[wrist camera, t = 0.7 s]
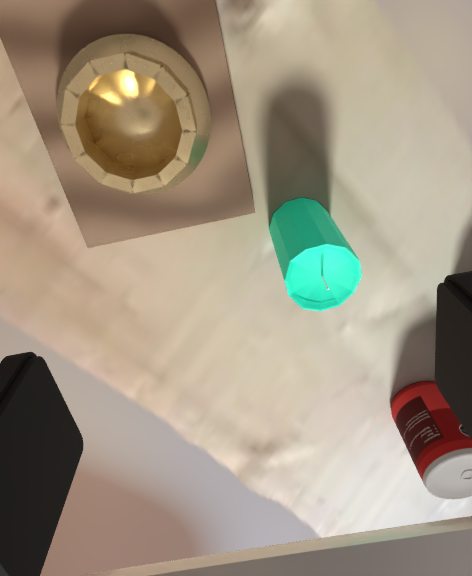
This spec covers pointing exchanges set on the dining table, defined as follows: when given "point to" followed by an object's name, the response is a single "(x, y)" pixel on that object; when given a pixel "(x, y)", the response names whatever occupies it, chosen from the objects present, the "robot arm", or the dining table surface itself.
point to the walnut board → (43, 104)
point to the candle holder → (134, 113)
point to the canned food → (434, 440)
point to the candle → (313, 255)
